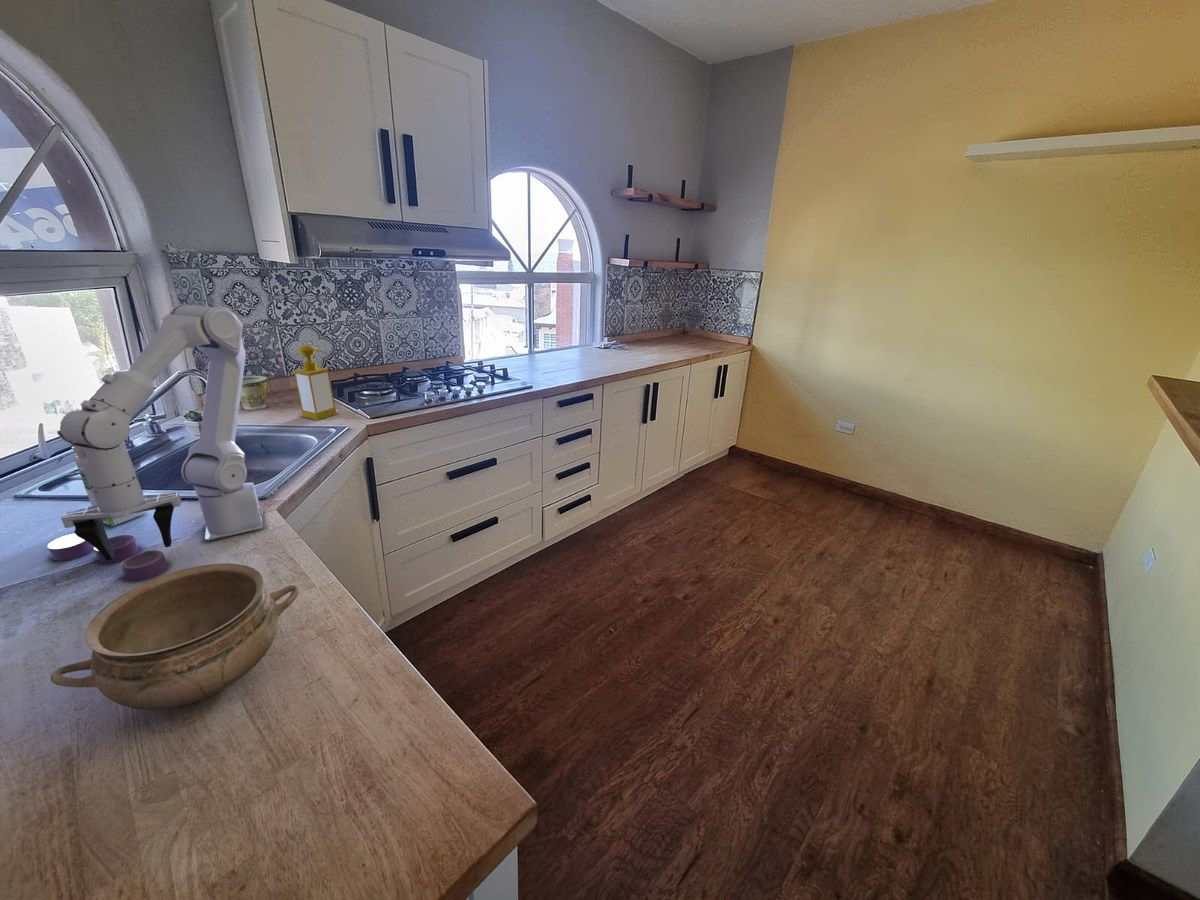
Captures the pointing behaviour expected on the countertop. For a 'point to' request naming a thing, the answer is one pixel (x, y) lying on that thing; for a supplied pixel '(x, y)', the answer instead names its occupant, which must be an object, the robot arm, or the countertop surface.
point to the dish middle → (144, 565)
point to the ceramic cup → (254, 392)
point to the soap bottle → (314, 387)
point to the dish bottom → (120, 548)
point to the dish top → (69, 547)
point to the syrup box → (93, 501)
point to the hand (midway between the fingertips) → (140, 550)
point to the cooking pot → (180, 637)
